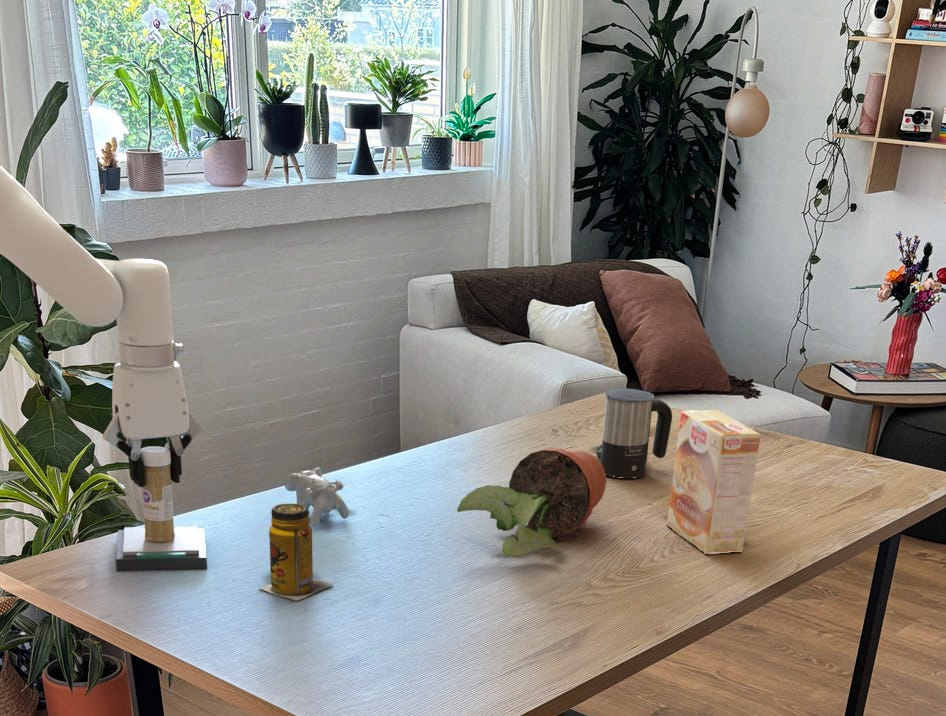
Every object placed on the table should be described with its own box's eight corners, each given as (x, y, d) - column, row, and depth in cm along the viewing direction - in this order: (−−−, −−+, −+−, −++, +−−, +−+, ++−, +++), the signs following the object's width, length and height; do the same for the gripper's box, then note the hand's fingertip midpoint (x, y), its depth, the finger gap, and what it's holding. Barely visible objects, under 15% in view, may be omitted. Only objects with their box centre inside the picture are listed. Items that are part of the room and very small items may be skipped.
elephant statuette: (326, 532, 209) (326, 485, 206) (264, 519, 214) (262, 472, 210) (356, 517, 217) (356, 472, 213) (295, 504, 221) (294, 459, 217)
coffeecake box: (664, 526, 222) (679, 410, 212) (702, 523, 224) (718, 409, 214) (704, 556, 209) (722, 434, 200) (743, 553, 212) (763, 433, 202)
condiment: (258, 589, 187) (255, 508, 181) (297, 573, 193) (295, 494, 187) (296, 602, 183) (294, 519, 177) (335, 586, 190) (334, 505, 184)
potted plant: (532, 518, 227) (439, 560, 198) (546, 430, 220) (452, 460, 191) (614, 541, 221) (532, 586, 192) (632, 451, 214) (549, 485, 185)
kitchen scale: (116, 571, 190) (115, 555, 189) (118, 541, 201) (117, 526, 200) (207, 569, 193) (206, 553, 192) (204, 539, 204) (203, 524, 202)
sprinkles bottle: (138, 539, 195) (131, 450, 188) (157, 531, 199) (150, 443, 192) (163, 545, 193) (157, 455, 187) (182, 537, 197) (176, 448, 190)
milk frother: (621, 482, 242) (630, 402, 235) (562, 462, 252) (569, 383, 245) (672, 471, 250) (682, 393, 243) (613, 452, 260) (621, 376, 253)
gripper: (194, 345, 189) (201, 469, 198) (78, 353, 181) (91, 482, 190) (214, 356, 184) (220, 483, 193) (96, 364, 176) (108, 496, 185)
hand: (156, 481), depth 192 cm, fingers closed on sprinkles bottle, 4 cm apart
